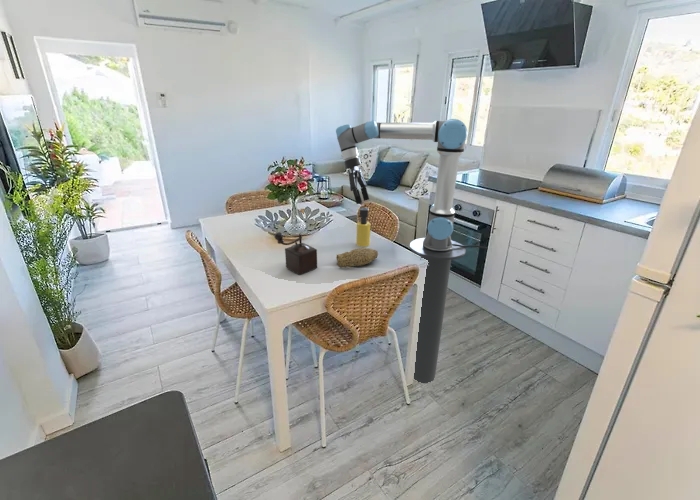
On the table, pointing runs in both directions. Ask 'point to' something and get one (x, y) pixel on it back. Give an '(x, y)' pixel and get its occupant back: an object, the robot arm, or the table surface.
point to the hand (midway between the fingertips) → (363, 201)
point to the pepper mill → (298, 255)
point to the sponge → (356, 257)
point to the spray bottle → (363, 229)
